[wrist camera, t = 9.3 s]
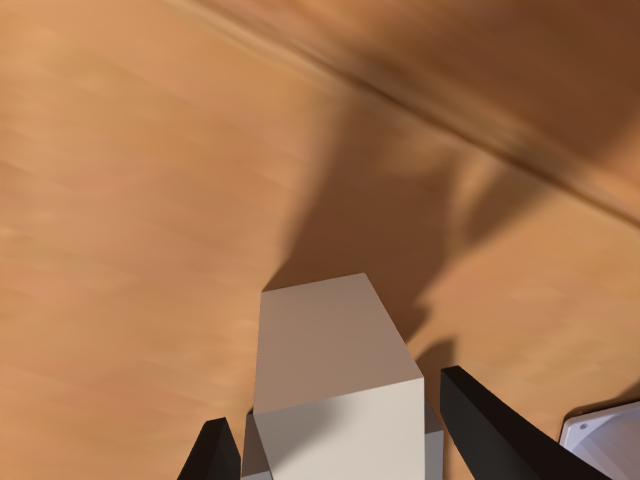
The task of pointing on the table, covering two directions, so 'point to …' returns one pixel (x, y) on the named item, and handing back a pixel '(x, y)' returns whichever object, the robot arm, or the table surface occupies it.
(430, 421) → the track
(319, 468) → the block
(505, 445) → the robot arm
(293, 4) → the table surface
